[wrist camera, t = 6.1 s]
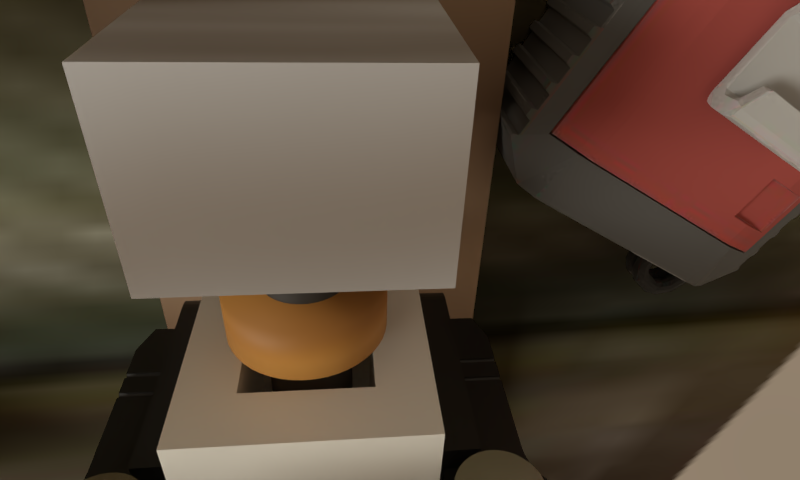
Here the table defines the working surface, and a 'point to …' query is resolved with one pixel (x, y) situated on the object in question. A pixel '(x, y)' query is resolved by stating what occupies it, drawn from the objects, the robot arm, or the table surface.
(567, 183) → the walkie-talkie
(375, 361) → the sleeve
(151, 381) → the robot arm
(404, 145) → the linear slider rail
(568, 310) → the table surface
